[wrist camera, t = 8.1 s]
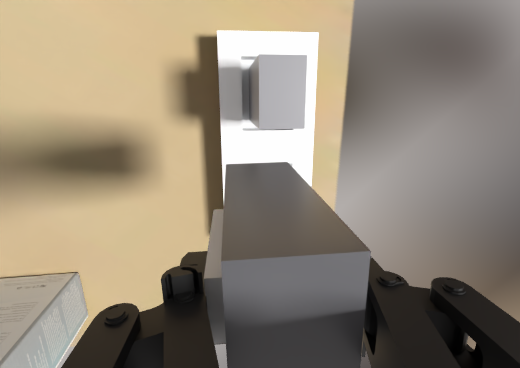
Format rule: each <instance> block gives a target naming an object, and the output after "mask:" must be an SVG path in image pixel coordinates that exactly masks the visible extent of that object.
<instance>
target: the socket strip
mask: <svg viewBox="0 0 520 368" xmlns="http://www.w3.org/2000/svg"><path fill="white" fill-rule="evenodd" d="M318 34H319V32H271V31H221V30H217V45H218V71H219V97H220V122H221V148H222V174H223V200H224V193H225V174H226V164H244V163H270V162H288V163H289V164H290V165H291V166H292V167H293V168H294V169H295V170H296V172H297V173H298V174H299V175H300V176H301V177H302V178H303V179H304V180H305V181H306V182H307V183H308V184H309V185H310V187H312V165H313V143H314V121H315V100H316V78H317V56H318Z"/></svg>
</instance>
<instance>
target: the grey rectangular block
mask: <svg viewBox="0 0 520 368" xmlns="http://www.w3.org/2000/svg"><path fill="white" fill-rule="evenodd" d="M370 254H371V251H370V250H369V249H368V248H367V247H366V245H365V244H364V243H363V242H362V241H361V240H360V239H359V238H358V237H357V236H356V235H355V234H354V233H353V231H352V230H351V229H350V228H349V227H348V226H347V225H346V224H345V223H344V222H343V221H342V220H341V219H340V218H339V216H338V215H337V214H336V213H335V212H334V211H333V210H332V209H331V208H330V207H329V206H328V205H327V204H326V203H325V201H324V200H323V199H322V198H321V197H320V196H319V195H318V194H317V193H316V192H315V191H314V190H313V189H312V188H311V187H310V185H309V184H308V183H307V182H306V181H305V180H304V179H303V178H302V177H301V176H300V175H299V174H298V173H297V172H296V170H295V169H294V168H293V167H292V166H291V165H290V164H289V163H288V162H270V163H244V164H226V174H225V193H224V213H223V232H222V251H221V270H222V286H223V302H224V318H225V335H226V350H227V366H228V368H360V362H361V352H362V342H363V331H364V320H365V309H366V298H367V288H368V277H369V266H370Z"/></svg>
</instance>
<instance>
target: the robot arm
mask: <svg viewBox="0 0 520 368" xmlns="http://www.w3.org/2000/svg"><path fill="white" fill-rule="evenodd" d="M223 213H224V209H214V210H213V217H212V224H211V231H210V238H209V245H208V251H203V252H188V253H187V254H186V255H185V256H184V257H183V258H182V260H181V263H180V266H177V267H173V268H171V269H169V270H167V271H166V272H165V273H164V274H163V275H162V278H161V284H162V292H163V300H164V303H163V304H161V305H159V306H157V307H155V308H152V309H149V310H146V311H142V312H139V310H138V308H137V306H135V305H133V304H130V303H122V304H116V305H113V306H110V307H108V308H106V309H104V310H103V311H101V312H100V313H99V314H98V315H97V316H96V317H95V318H94V319H93V321H92V322H91V324H90V325H89V327H88V328H87V330H86V331H85V333H84V334H83V336H82V337H81V339H80V340H79V342H78V343H77V345H76V346H75V348H74V349H73V351H72V352H71V354H70V355H69V357H68V358H67V360H66V361H65V363H64V364H63V366H62V367H61V368H219V365H218V360H217V355H216V350H215V346H214V345H216V344H226V335H225V318H224V302H223V286H222V270H221V251H222V232H223ZM468 335H469V336H470V337H471V338H472V339H473V340H474V341H475V342H476V347H475V349H472V348H471V347H470V346H469V345H468V344H467V339H468ZM365 351H367V354H368V357H369V361H370V364H371V368H520V323H519V322H518V321H517V320H515V319H514V318H513V317H511V316H510V315H509V314H507V313H506V312H504V311H503V310H502V309H500V308H499V307H498V306H496V305H495V304H494V303H492V302H491V301H490V300H488V299H487V298H486V297H484V296H483V295H482V294H480V293H479V292H477V291H476V290H475V289H473V288H472V287H471V286H469V285H467V284H466V283H464V282H461V281H459V280H456V279H453V278H447V277H446V278H444V277H442V278H441V277H440V278H436V279H434V280H433V281H432V282H431V288H430V289H427V288H419V287H412V286H409V285H408V283H407V282H406V280H404V278H403V277H401V276H399V275H397V274H395V273H392V272H388V271H384V270H383V269H382V268H381V267H380V266H379V265H378V263H377V262H376V261H375V260H374V259H373V258H371V256H370V266H369V277H368V288H367V298H366V309H365V320H364V331H363V342H362V357H365Z"/></svg>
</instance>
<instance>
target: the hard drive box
mask: <svg viewBox="0 0 520 368" xmlns="http://www.w3.org/2000/svg"><path fill="white" fill-rule="evenodd" d="M87 317H88V312H87V307H86V303H85V298H84V294H83V289H82V285H81V281H80V277H79V273H67V274H53V275H41V276H29V277H17V278H3V279H0V368H57V366H58V365H59V363H60V361H61V360H62V358H63V356H64V355H65V353H66V351H67V350H68V348H69V346H70V345H71V343H72V342H73V340H74V338H75V337H76V335H77V333H78V332H79V330H80V329H81V327H82V325H83V324H84V322H85V320H86V319H87Z"/></svg>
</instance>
